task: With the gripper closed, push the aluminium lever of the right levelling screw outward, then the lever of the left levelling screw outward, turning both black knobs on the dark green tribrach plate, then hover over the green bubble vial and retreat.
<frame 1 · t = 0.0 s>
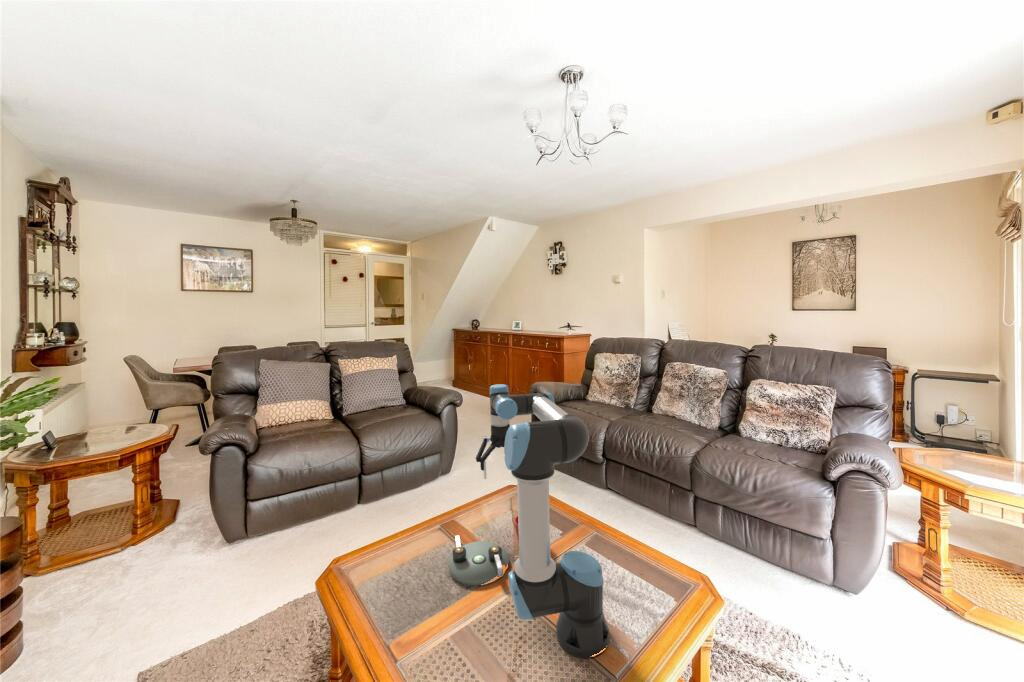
hand: (501, 475, 155), 28 cm above the table, fingers open, 13 cm apart
knob left: (458, 547, 148), point 4 cm above the table, hinge at 0.0°
flower pot: (528, 543, 156), on the table
knob right: (497, 559, 140), point 4 cm above the table, hinge at 0.0°
tribrach plate: (479, 564, 144), on the table
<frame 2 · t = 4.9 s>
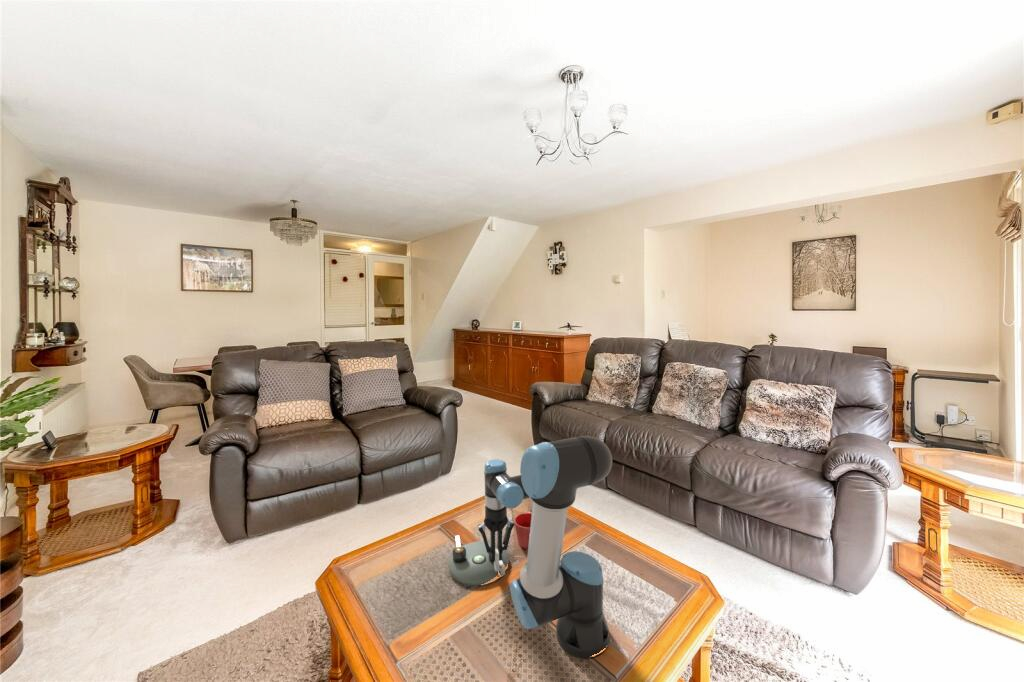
hand: (496, 568, 137), 3 cm above the table, fingers closed
knob right: (497, 559, 140), point 4 cm above the table, hinge at 5.0°, touching gripper
everything else where it was.
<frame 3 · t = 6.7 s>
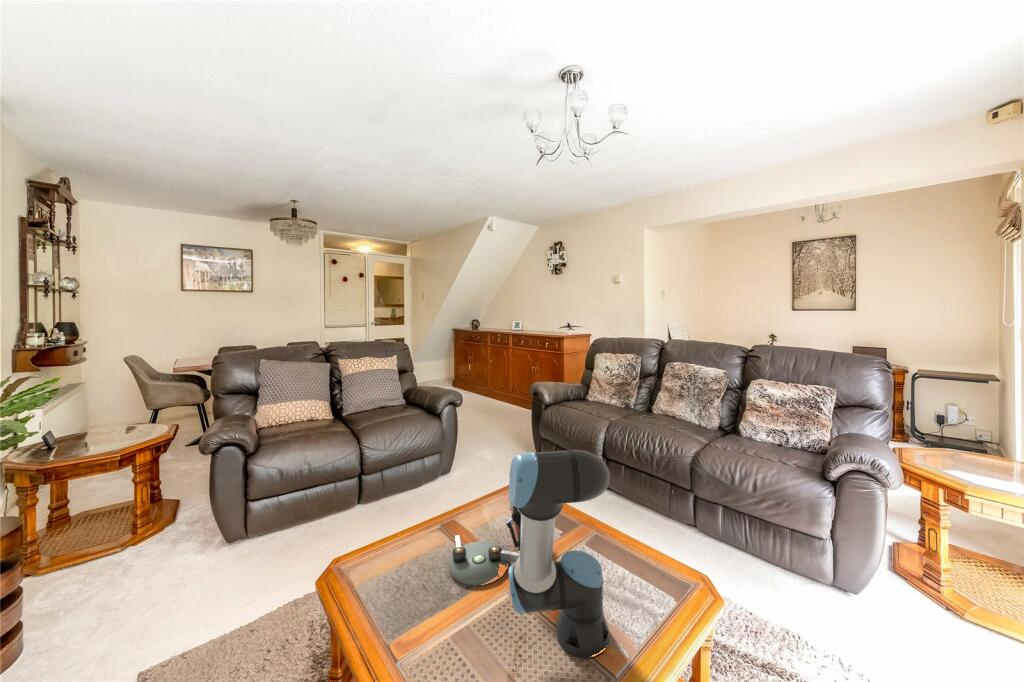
hand: (524, 562, 139), 3 cm above the table, fingers closed
knob right: (504, 554, 143), point 4 cm above the table, hinge at 61.0°
everything else where it was.
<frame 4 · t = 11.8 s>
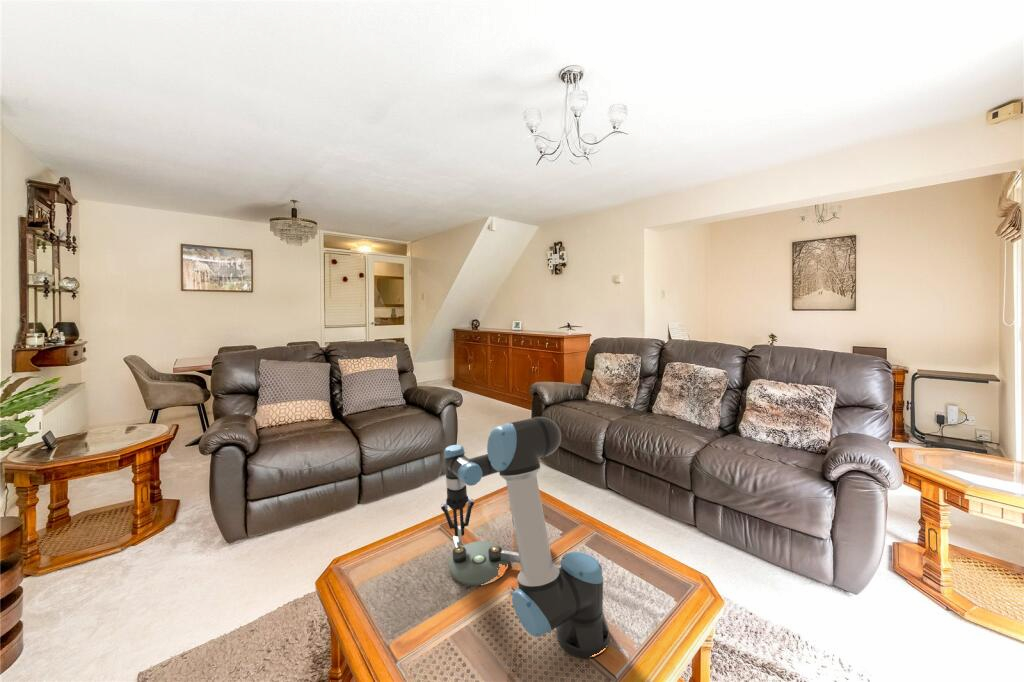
hand: (460, 543, 151), 4 cm above the table, fingers closed
knob left: (457, 547, 148), point 4 cm above the table, hinge at 4.7°, touching gripper
everything else where it was.
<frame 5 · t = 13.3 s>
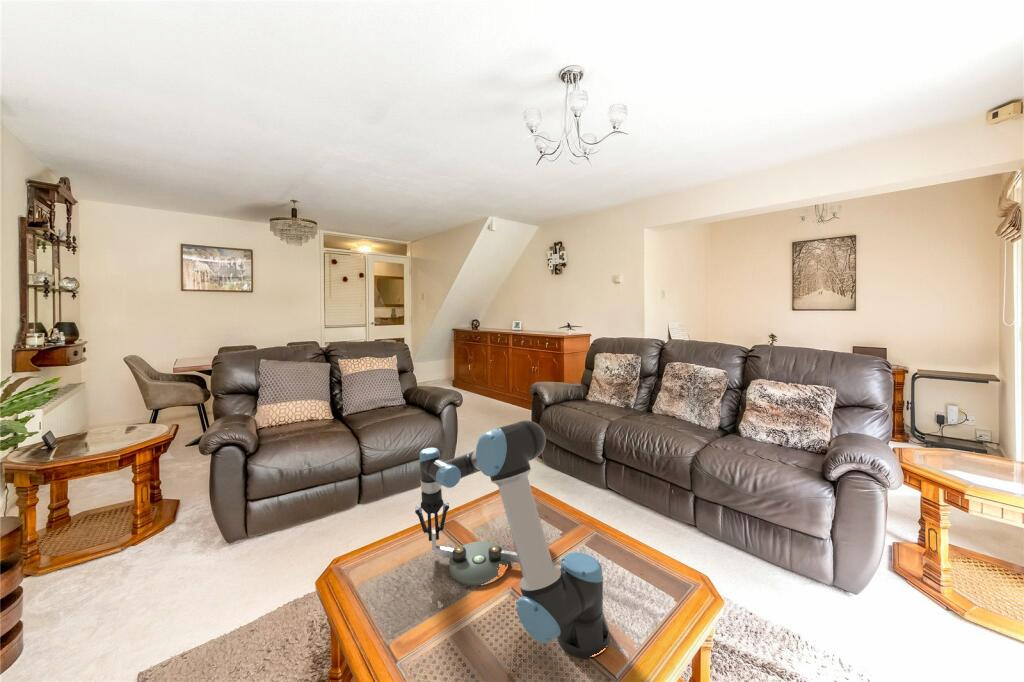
hand: (434, 547, 149), 4 cm above the table, fingers closed
knob left: (450, 552, 145), point 4 cm above the table, hinge at 60.3°, touching gripper
everything else where it was.
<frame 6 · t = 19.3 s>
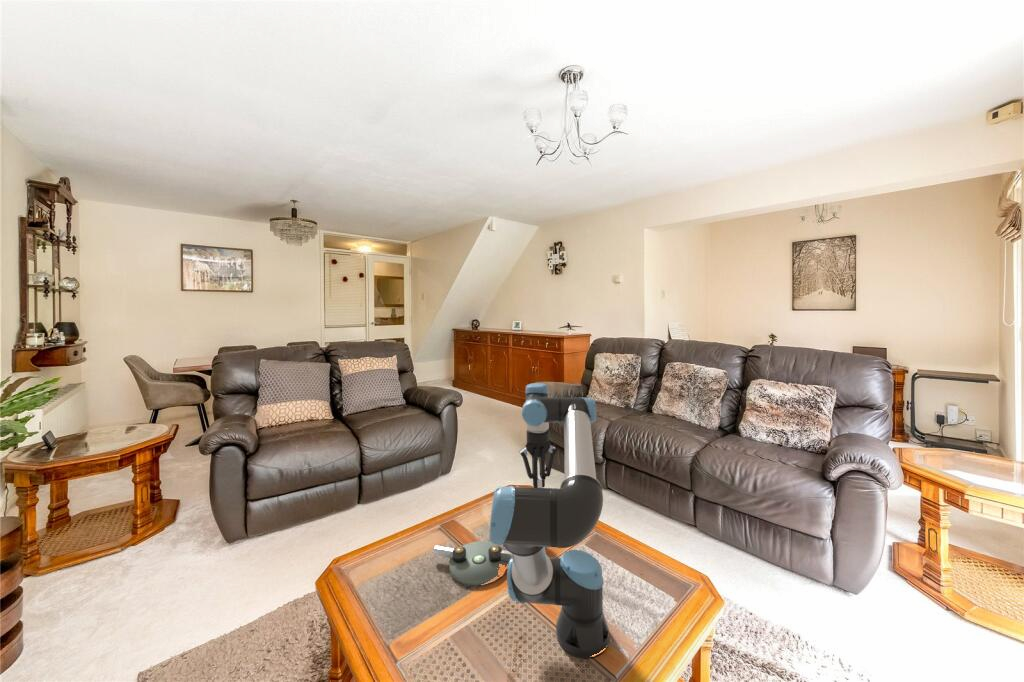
hand: (539, 496, 133), 30 cm above the table, fingers closed
knob left: (450, 552, 145), point 4 cm above the table, hinge at 61.0°
everything else where it was.
at the end: knob right at +61° (first picture: +0°); knob left at +61° (first picture: +0°) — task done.
